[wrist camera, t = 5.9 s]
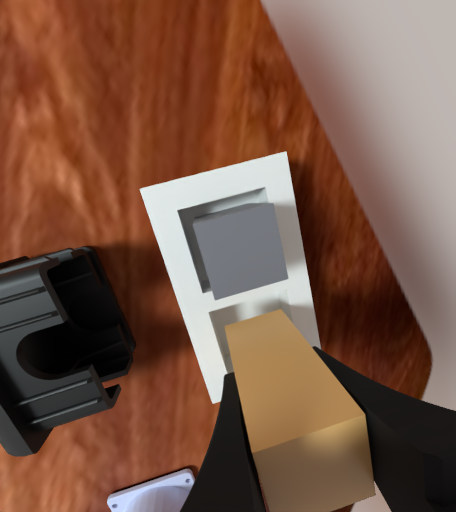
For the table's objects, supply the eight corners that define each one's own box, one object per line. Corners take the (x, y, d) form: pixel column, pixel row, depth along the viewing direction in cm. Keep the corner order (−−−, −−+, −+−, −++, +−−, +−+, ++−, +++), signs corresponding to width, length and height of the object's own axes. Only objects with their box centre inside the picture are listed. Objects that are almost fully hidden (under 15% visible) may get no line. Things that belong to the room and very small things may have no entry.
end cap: (-10, 265, 16) (-155, 308, 9) (90, 237, 16) (18, 259, 10) (55, 379, 18) (-25, 476, 12) (140, 352, 19) (110, 431, 12)
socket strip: (306, 344, 21) (353, 404, 14) (210, 374, 20) (216, 451, 14) (271, 160, 17) (314, 134, 10) (150, 191, 16) (120, 183, 10)
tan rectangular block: (291, 357, 16) (375, 494, 9) (238, 374, 16) (276, 531, 8) (281, 308, 15) (365, 414, 8) (224, 326, 15) (251, 453, 7)
